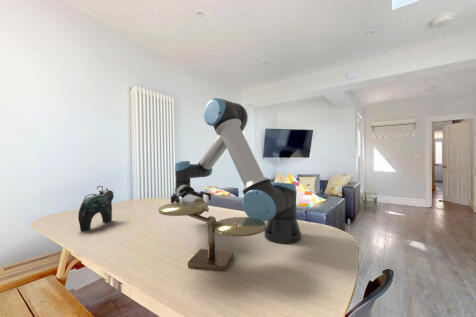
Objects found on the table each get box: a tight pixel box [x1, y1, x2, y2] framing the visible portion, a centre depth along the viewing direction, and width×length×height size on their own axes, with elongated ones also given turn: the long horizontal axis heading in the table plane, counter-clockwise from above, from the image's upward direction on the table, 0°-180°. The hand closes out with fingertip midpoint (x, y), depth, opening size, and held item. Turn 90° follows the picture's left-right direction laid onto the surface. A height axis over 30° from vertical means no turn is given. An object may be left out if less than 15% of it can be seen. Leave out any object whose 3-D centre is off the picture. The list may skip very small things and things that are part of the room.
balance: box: [158, 202, 267, 272], centre depth 71 cm, size 35×16×18 cm, turn 77°
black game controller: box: [77, 185, 115, 232], centre depth 112 cm, size 20×6×20 cm, turn 172°
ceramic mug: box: [183, 194, 210, 216], centre depth 89 cm, size 11×8×8 cm
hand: (195, 201), depth 84 cm, fingers closed on ceramic mug, 9 cm apart
